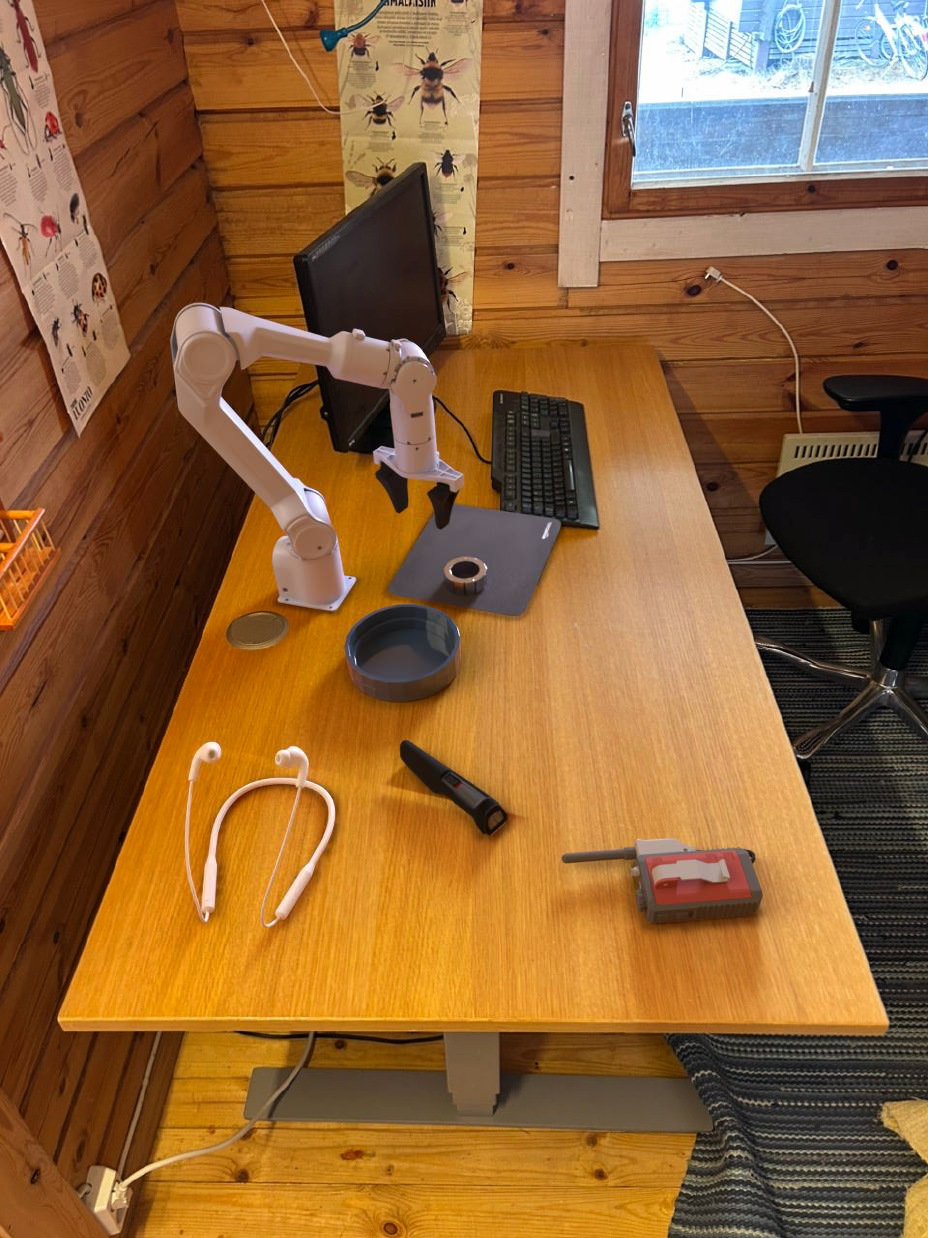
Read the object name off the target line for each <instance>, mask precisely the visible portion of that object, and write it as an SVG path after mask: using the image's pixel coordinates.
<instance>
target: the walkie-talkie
mask: <svg viewBox="0 0 928 1238" xmlns="http://www.w3.org/2000/svg"><path fill="white" fill-rule="evenodd" d="M616 860H625V861H632V860H635V861H636V862H635V865H634V867H630V876H631V877H635V878H636V879H637V884H638V889H636V890H635V893H634V896H635V906H636V909H637V910H638V911H639V912H644V913H645V914H644V915H645V917H646V921H647V923H649V924H651V925H653V924H654V925H657V924H667V923H668V924H669V923H680V922H693V921H701V920H704V921H705V920H712V919H715V920H717V919H723V918H724V919H728V918H732V919H733V918H735V917H736V918H739V917H742V918H743V917H744V918H745V917H751V916H753V917H754V916H755V915H756V913H757V912H758V911H759V908H760V906H761V903H762V900H763V897H764V894H763V889H762V887H761V884H760V881H759V878H758V876H757V873H756V870H755V866H754V865H753V864H754V863H755V862H756V854H755V852H754V851H752V850H751V849H746V848H741V847H739V846H737V847H727V848H725V847H723V848H711V849H697V848H696V846H691V845H688V844H687V843H685V842H682V841H680V840H677V839H676V838H675V837H669V838H668V837H667V838H656V839H655V838H654V839H642V838H640V839H639V838H638V839H634V845H633V846H627V847H623V848H618V849H606V850H605V849H604V850H592V851H580V852H579V851H578V852H567V853H563V854H562V855H561V862H562V863H563V864H566V865H567V864H576V863H578V864H580V863H587V862H588V863H590V862H602V861H604V862H605V861H616Z"/></svg>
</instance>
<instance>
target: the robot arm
mask: <svg viewBox="0 0 928 1238" xmlns="http://www.w3.org/2000/svg"><path fill="white" fill-rule="evenodd" d="M169 341H170V351H171V359H172V366H173V375H174V383H175V391H176V399H177V400H176V401H177V407H178V411H179V412H180V413H181V415H182V417H184V419H185V420H186V421H187V422H188V423H189V424H190V425H191V426H192V427H193V428H194V430H195V431H197V432H198V433H199V434H200V436H202V438H203V439H204V440H205V441H206V442H207V443H208V444H209V445H210V446H211V447H212V448H213V450H215V452H216V453H217V454H218V455H219V456H220V457H221V458H222V459H223V460H224V461H225V462H226V463H227V464H228V465H229V466H230V468H232V469H233V471H234V472H235V473H236V474H237V475H238V476H239V477H240V478H241V479H242V480H243V482H245V483H246V485H247V486H248V487H249V488H250V489H251V490H252V491H253V492H254V493H255V494H256V495H257V497H259V498H260V499H261V501H263V503H264V504H265V505H267V507H268V508H269V509H270V511H271V512H272V514H273V516H274V518H275V519H276V521H277V524H278V525H279V527H280V528H281V530H282V531H283V532H284V533H285V534H286V535H283V536H281V537H280V538H279V539H277V541H276V543H275V545H274V547H273V550H272V557H271V563H272V564H271V565H272V569H273V574H274V579H275V583H276V586H277V590H278V594H279V595H278V598H277V602H278V603H280V604H285V605H291V606H297V607H301V608H307V609H315V610H322V611H328V612H333V613H334V612H336V611H338V609H339V608H340V606H341V605H342V603H343V601H344V600H345V598H346V597H347V596H348V594H349V592H350V590H351V589H352V587H353V586H354V585H355V583H356V581H357V578H356V577H355V576H352V575H351V576H350V575H346V574H345V572H344V567H343V561H342V555H341V551H340V544H339V539H338V535H337V532H336V530H335V528H334V526H333V524H332V521H331V518H330V515H329V512H328V509H327V503H326V500H325V497H324V496H323V495H322V494H321V493H320V492H319V491H317V490H316V489H313V488H311V487H308V486H306V485H305V484H304V483H303V482H302V481H301V480H300V479H299V478H297V477H293V476H292V475H291V473H289V472H288V471H287V469H285V467H284V466H283V465H282V464H281V463H280V461H279V460H278V459H277V458H276V457H275V456H274V455H273V454H272V452H270V450H269V449H268V448H267V447H266V446H265V445H264V444H263V442H262V440H260V439H259V438H258V437H257V435H256V434H255V433H254V431H252V430H251V428H249V426H248V425H247V424H246V423H245V422H244V421H243V420H242V418H241V417H240V416H239V415H238V414H237V413H236V412H235V410H233V409H232V407H231V406H230V405H229V404H228V403H227V402H226V400H224V398H223V396H222V393H223V387H224V386H225V384H226V382H227V381H228V379H229V378H230V376H231V375H232V373H233V371H234V368H235V366H236V362H237V361H238V363H239V366H240V369H241V371H242V370H245V369H247V368H249V366H251V365H252V364H253V363H255V362H256V361H258V360H259V359H261V358H263V357H267V358H273V359H280V360H285V361H291V362H298V363H303V364H308V365H309V364H310V365H316V366H322V367H325V368H327V370H328V371H329V373H330V374H331V376H332V377H333V378H334V379H336V380H341V381H346V382H349V383H355V384H359V385H364V386H369V387H373V388H378V389H383V390H384V389H389V399H390V401H389V402H390V403H389V409H390V418H391V428H392V435H393V436H392V438H393V445H394V448H392V447H387V446H383V445H381V446H379V447H378V448H377V449H375V450H373V451H372V454H373V462H374V463H373V464H375V465H378V466H379V469H377V470H376V471H375V473H374V475H375V476H374V477H375V478H376V480H377V481H378V482H379V484H381V486H382V487H383V488H384V490H385V492H386V493H387V496H388V497H389V499H390V502H391V504H392V506H393V509H394V511H395V513H396V514H399V515H400V514H401V513H403V512H404V511H406V509H408V508H409V489H408V483H409V479H410V480H418V481H425V482H427V481H428V482H433V483H436V486H435V485H434V487H433V488H430V489H429V490H428V491H427V492H426V496H427V497H428V499H429V501H430V503H431V505H432V509H433V514H435V522H436V526H437V529H440V530H442V529H443V528H444V527H446V526H447V525H448V524H449V521H450V516H451V511H452V508H453V504H455V503H456V502H455V501H456V499H457V496H458V495H459V493H460V491H461V489H462V488H463V487H465V475H464V473H463V472H460V471H457V470H456V469H454V468H453V467H451V466H450V465H448V464H447V463H446V462H445V461H443V460H442V459H440V452H439V450H438V448H437V447H438V446H437V434H436V422H435V421H436V420H435V408H434V401H433V394H432V393H433V392H434V390H435V388H436V386H437V384H438V383H437V382H438V376H437V375H436V374H435V370H434V367H433V365H432V364H431V362H430V360H429V359H428V357H427V356H426V354H425V353H424V352H423V350H422V348H421V347H419V346H418V345H417V344H416V343H414V342H412V341H410V340H409V339H407V338H400V339H391V340H390V342H389V341H385V340H381V339H377V338H372V337H369V336H366V334H365V332H364V331H363V330H361V329H357V328H353V329H352V332H349V331H344V330H342V331H339V332H338V333H336V334H334V335H333V336H331V337H326V336H323V335H320V334H316V333H313V332H311V331H306V330H302V329H300V328H299V329H298V328H296V327H292V326H290V325H286V324H282V323H278V322H275V321H271V320H268V319H264V318H261V317H258V316H254V315H252V314H249V313H246V312H244V311H240V310H237V309H234V308H232V307H228V306H227V307H226V306H219V309H218V308H216V306H214V305H212V304H209V303H205V302H193V303H190V304H188V305H185V306H184V307H182V309H181V310H180V311H179V312H178V313H177V315H176V316H175V318H174V322H173V328H172V331H171V336H170V339H169Z"/></svg>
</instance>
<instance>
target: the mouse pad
mask: <svg viewBox="0 0 928 1238" xmlns="http://www.w3.org/2000/svg"><path fill="white" fill-rule="evenodd" d="M561 527H562V522H561V521H560V520H559V519H556V518H554V517H553V518H552V517H546V516H539V515H534V514H533V515H532V514H525V513H519V512H512V511H505V510H497V509H491V508H484V507H477V506H470V505H465V504H464V505H463V504H456V503H454V504H453V508H452V511H451V516H450V521H449V524H448V525H447V526H446V527H444V528H443V529H442V530H440V529H437V526H436V522H435V514H434V513H432V514H431V516H430V518H429V520H428V521H427V523H426V525H425V526H424V528H423V530H422V531H421V533H420V535H419V536H418V538H417V539H416V541H415V543H414V544H413V545H412V548H411V549H410V551H409V553H408V555H407V556H406V557H405V558H404V560H403V563H402V564H401V565H400V567H399V569H398V570H397V572H396V573H395V575H394V577H393V579H392V581H391V582H390V583H389V586H388V589H387V590H388V592H389V594H391V595H394V596H397V597H403V598H407V599H414V600H419V601H426V602H429V603H430V602H431V603H436V604H441V605H447V606H453V607H458V608H463V609H469V610H475V611H480V612H487V613H493V614H498V615H502V616H503V615H504V616H510V617H518V616H521V615H523V614H524V613H525V612H526V610H527V609H528V607H529V604H530V602H531V599H532V597H533V594H534V592H535V589H536V587H537V586H538V583H539V581H540V579H541V576H542V574H543V571H544V569H545V566H546V565H547V562H548V559H549V557H550V554H551V552H552V550H553V547H554V545H555V543H556V540H557V538H558V535H559V532H560V530H561ZM460 557H473V558H476V559H479V560H481V561H482V562H484V564H485V566H486V568H487V585H486V587H485V589H484V590H483V591H481V592H480V593H478V594H475V595H472V596H458V595H455V594H452V593H450V592H449V591H447V589H446V587H445V583H444V568H445V566H446V564H448V562H450V561H451V560H453V559H456V558H460ZM474 576H475V575H471V574H462V575H458V576H457V578H461V579H467V578H472V577H474Z"/></svg>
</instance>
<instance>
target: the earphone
mask: <svg viewBox="0 0 928 1238" xmlns="http://www.w3.org/2000/svg"><path fill="white" fill-rule="evenodd" d="M221 757H222V749H221V746H220V745H219V743H217V742H215V741H209V742H206V743H204V744H202V746H200V747H199V748H198V749H197V750H196V752H195V754H194V755H193V757H192V761H191V765H190V769H189V773H188V778H187V781H188V782H189V789H188V797H187V803H186V804H187V805H186V815H185V829H184V831H185V833H184V851H185V852H184V854H185V865H186V866H185V867H186V873H187V878H188V883H189V886H190V891H191V894H192V898H193V900H194V903H195V906H196V909H197V913H198V916H199V919H200V921H201V922H202V923H204V924H205V923H207V922H208V921H209V916H210V914H212V913H213V912H215V904H216V892H217V891H216V889H217V875H218V864H217V858H216V854H217V853H216V852H217V843H218V836H219V831H220V828H221V825H222V822H223V819H224V817H225V815H226V813H227V812H228V811H229V809H230V807H231V806H232V805H233V804H234V802H235V801H236V800H238V799H239V798H240V797H241V796H243V795H244V794H245V793H247V792H249V791H252V790H254V789H257V788H259V787H265V786H270V785H271V786H272V785H290V786H291V785H294V786H295V788H297V791H296V796H295V800H294V803H293V807H292V810H291V814H290V818H289V822H288V825H287V829H286V832H285V835H284V838H283V841H282V844H281V848H280V851H279V854H278V857H277V860H276V863H275V866H274V869H273V871H272V874H271V877H270V880H269V882H268V885H267V888H266V891H265V894H264V898H263V901H262V905H261V910H260V924H261V926H262V927H263V928H265V929H269V928H272V927H273V926H274V925H276V924H277V923H278V922H279V921H280V920H281V921H282V920H283V921H284V920H286V919H287V918H288V917H289V915H290V913H291V912H292V910H293V908H294V906H295V905H296V903H297V901H298V900H299V898H300V896H301V895H302V893H303V892H304V890H305V888H306V887H307V886H308V883H309V882H310V880H311V879H312V876H313V873H314V870H315V867H316V865H317V863H318V862H319V859H320V858H321V856H322V854H323V853H324V851H325V849H326V847H327V845H328V843H329V841H330V838H331V836H332V833H333V829H334V826H335V820H336V808H335V804H334V803H335V802H334V800H333V798H332V797H331V795H330V793H329V792H328V791H327V790H326V788H324V787H322V786H320V784H317V783H315V782H312V781H308V780H307V777H308V774H309V766H310V764H309V763H310V762H309V758H308V757H307V755H306V754H305V752H304V751H303V750H302V749H301V748H300V747H298V746H293V745H292V746H289V747H288V748H286V749H281V750H278V751H277V753H276V754H275V757H274V763H275V765H276V766H278V767H279V768H287V769H293V768H296V767H298V773H297V777H296V778H294V777H293V778H292V777H272V778H265V779H260V780H255V781H253V782H250V783H248V784H246V785H243V786H242V787H241V788H239V789H237V790H236V791H235V792H234V793H233V794H231V795H230V796H229V797H228V798H227V799H226V801H225V802H224V803H223V805H222V806H221V808H220V810H219V812H218V813H217V815H216V817H215V820H214V822H213V825H212V829H211V834H210V838H209V839H210V840H209V848H208V856H207V857H206V861H205V864H204V870H203V871H204V872H203V883H202V895H201V905H200V902H199V899H198V896H197V892H196V889H195V885H194V882H193V877H192V873H191V864H190V854H189V853H190V852H189V851H190V850H189V834H190V833H189V832H190V830H189V829H190V814H191V804H192V795H193V789H194V783H196V782H197V781H198V778H199V773H200V769H201V765H202V763H203V762H204V763H207V764H215V763H217V762H218V761H219V760H220V758H221ZM305 788H307V789H310V790H313V791H315V792H316V793H318V794H319V795H320V796H322V798H323V799H324V800H325V803H326V805H327V809H328V818H327V824H326V828H325V831H324V833H323V836H322V839H321V841H320V843H319V844H318V846H317V847H316V850H315V851H314V853H313V855H312V856H311V858H310V860H309V862H307V864H306V865H305V866H303V868H302V869H301V870H300V871H299V873H298V875H297V876H296V877H295V879H294V881H293V883H292V884H291V886H290V887H289V889H288V891H287V892H286V894H285V895H284V897H283V899H282V900H281V902H280V903H279V905H278V907H277V908H276V910H275V912H274V915H275V917H276V918H275V919H274V920H273V921H272V922H270V923H268V924H266V923H265V909H266V906H267V905H266V904H267V901H268V897H269V895H270V892H271V889H272V886H273V883H274V882H275V881H274V880H275V878H276V874H277V872H278V869H279V866H280V864H281V860H282V857H283V854H284V852H285V848H286V845H287V842H288V839H289V835H290V832H291V830H292V826H293V822H294V818H295V815H296V811H297V807H298V803H299V799H300V797H301V792H302V790H303V789H305ZM204 914H205V917H204Z"/></svg>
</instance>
